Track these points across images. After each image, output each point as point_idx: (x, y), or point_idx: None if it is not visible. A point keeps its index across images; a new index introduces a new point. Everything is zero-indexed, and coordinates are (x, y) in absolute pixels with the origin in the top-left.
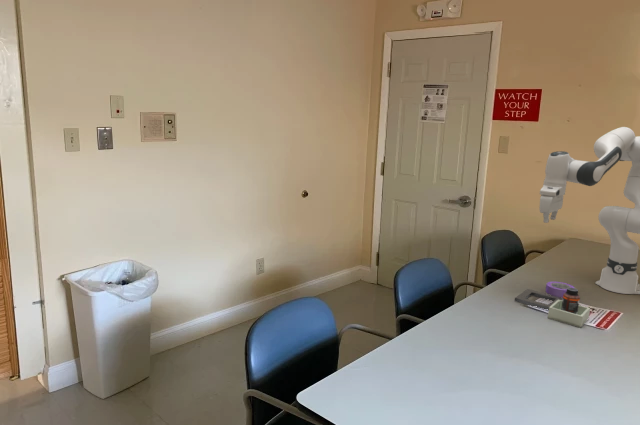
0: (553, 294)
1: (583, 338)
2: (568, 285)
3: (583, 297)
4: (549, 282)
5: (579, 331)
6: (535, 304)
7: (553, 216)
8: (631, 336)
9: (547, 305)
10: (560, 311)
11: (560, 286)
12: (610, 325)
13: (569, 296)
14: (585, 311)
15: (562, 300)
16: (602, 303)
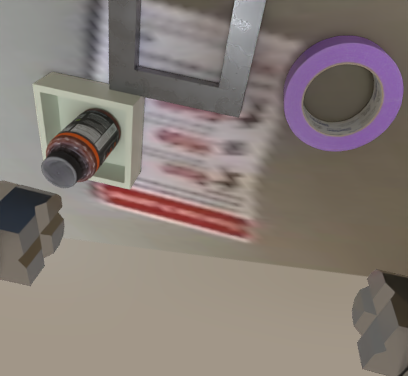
0: (289, 72)
1: (4, 157)
2: (363, 129)
3: (330, 164)
4: (373, 54)
5: (36, 150)
6: (110, 23)
7: (370, 345)
8: (103, 239)
9: (123, 66)
10: (38, 116)
11: (377, 96)
12: (134, 211)
13: (46, 155)
14: (91, 177)
15: (71, 126)
16: (299, 208)
